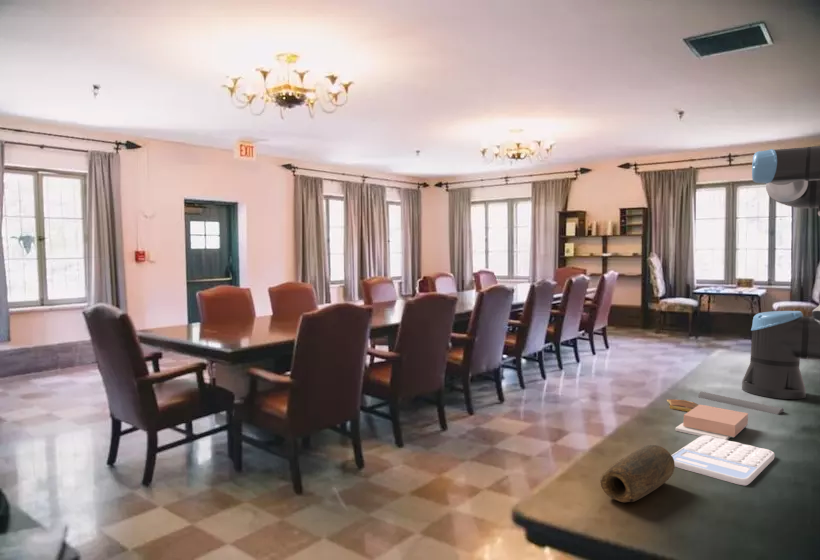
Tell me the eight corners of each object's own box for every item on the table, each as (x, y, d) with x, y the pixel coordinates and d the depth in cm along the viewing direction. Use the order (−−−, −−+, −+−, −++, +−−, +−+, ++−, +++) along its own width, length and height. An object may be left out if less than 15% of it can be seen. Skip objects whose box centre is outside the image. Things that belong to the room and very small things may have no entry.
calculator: (776, 459, 106) (776, 449, 106) (746, 489, 92) (746, 478, 92) (701, 441, 115) (702, 432, 115) (664, 466, 101) (665, 456, 101)
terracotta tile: (747, 425, 123) (699, 415, 130) (748, 413, 123) (699, 404, 130) (734, 438, 114) (683, 426, 121) (735, 425, 114) (683, 414, 121)
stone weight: (635, 473, 97) (636, 436, 97) (676, 485, 92) (678, 446, 92) (595, 499, 87) (597, 458, 86) (640, 515, 82) (641, 471, 81)
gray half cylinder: (704, 396, 152) (704, 390, 152) (785, 414, 136) (785, 407, 136) (696, 399, 149) (697, 392, 149) (778, 417, 134) (778, 410, 134)
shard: (713, 419, 131) (714, 412, 131) (681, 418, 131) (681, 411, 131) (692, 406, 142) (692, 399, 142) (662, 405, 142) (662, 398, 142)
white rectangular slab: (696, 415, 132) (696, 412, 132) (743, 424, 126) (743, 422, 125) (675, 430, 121) (675, 427, 121) (725, 441, 114) (725, 438, 114)
